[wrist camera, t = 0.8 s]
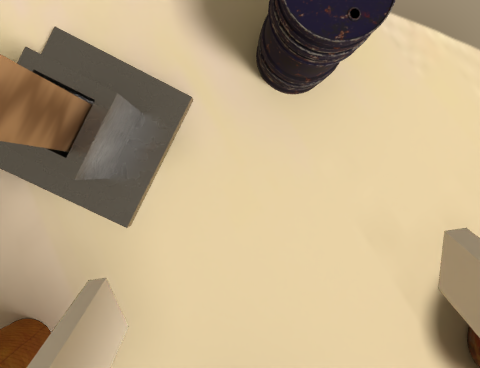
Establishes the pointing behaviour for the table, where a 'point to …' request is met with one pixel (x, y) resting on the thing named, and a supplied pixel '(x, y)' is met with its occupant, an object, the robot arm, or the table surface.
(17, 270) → the table surface
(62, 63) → the grey socket base
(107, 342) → the robot arm
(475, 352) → the food container
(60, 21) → the table surface
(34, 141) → the column
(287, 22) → the storage jar
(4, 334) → the disposable coffee cup
